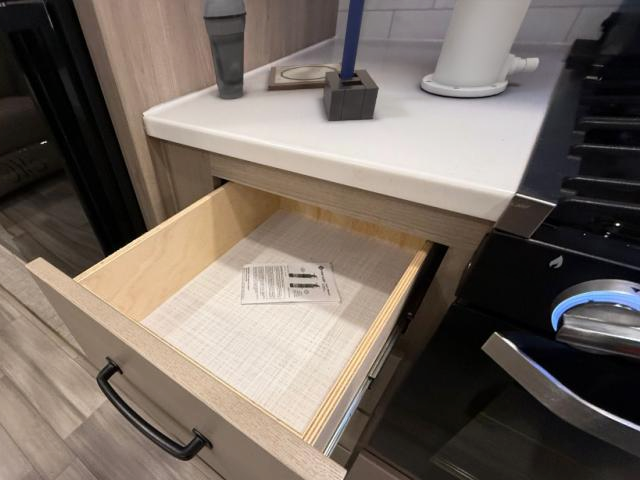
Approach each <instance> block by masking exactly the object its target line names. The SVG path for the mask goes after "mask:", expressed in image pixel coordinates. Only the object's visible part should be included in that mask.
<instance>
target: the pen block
mask: <svg viewBox="0 0 640 480" xmlns="http://www.w3.org/2000/svg"><path fill="white" fill-rule="evenodd" d="M340 73H341V71H333V72H326V74H325V84H324V87H323V94H322V100H323V104H324V108H325V113H326V116H327V120H328V121H329V122H331V121H332V122H333V121H334V122H335V121H354V120H355V121H356V120H372V119H373V118H374V114H375V109H376V104H377V99H378V95H379V94H378V93H379V89H380V87H379V86H378V84H377V83H376V82H375V80H374V79H373V77H372V76H371V74H370V73H369V72H368V71H367V69H366V68H365V69H354V75H353V77H352V78H340Z"/></svg>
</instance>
